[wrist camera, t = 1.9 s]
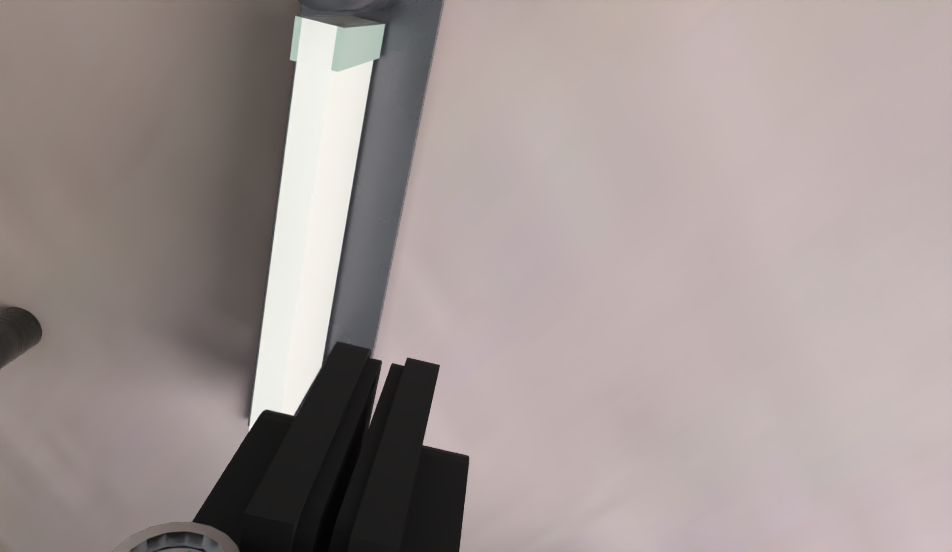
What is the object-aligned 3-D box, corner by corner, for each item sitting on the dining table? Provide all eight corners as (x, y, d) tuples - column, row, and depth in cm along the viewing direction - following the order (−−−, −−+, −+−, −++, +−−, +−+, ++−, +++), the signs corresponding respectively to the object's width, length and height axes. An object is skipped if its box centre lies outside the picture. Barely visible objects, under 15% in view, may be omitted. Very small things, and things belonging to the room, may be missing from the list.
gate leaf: (326, 367, 30) (280, 449, 24) (294, 359, 30) (241, 439, 24) (385, 23, 25) (344, 27, 19) (347, 14, 25) (295, 15, 19)
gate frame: (355, 444, 33) (301, 583, 25) (-1, 360, 32) (-172, 474, 24) (456, -61, 25) (423, -94, 17) (-17, -180, 24) (-279, -272, 16)
